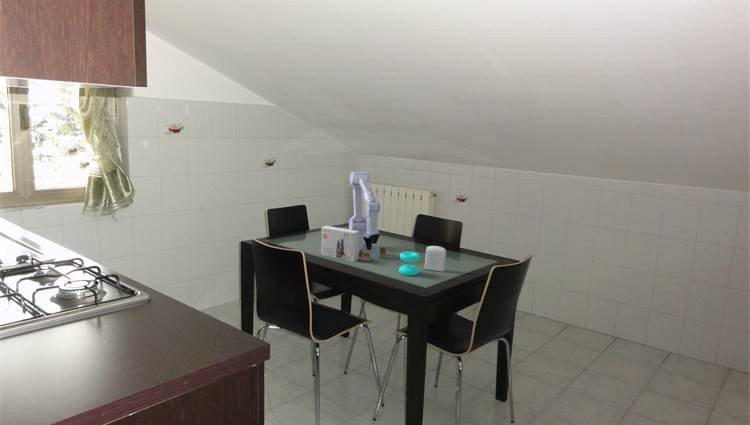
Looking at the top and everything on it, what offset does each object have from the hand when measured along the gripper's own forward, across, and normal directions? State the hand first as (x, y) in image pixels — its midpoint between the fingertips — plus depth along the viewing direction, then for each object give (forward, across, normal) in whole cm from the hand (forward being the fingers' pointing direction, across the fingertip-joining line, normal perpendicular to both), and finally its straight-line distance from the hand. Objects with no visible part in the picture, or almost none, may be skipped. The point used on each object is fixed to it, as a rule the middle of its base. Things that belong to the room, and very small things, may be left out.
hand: (371, 248), depth 293 cm
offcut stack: (+5, -7, 0) cm, 9 cm away
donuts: (+5, -21, -28) cm, 35 cm away
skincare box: (+5, -11, +14) cm, 18 cm away
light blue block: (+5, 0, 0) cm, 5 cm away
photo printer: (+5, -9, -38) cm, 39 cm away
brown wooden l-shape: (+5, +2, +1) cm, 5 cm away
